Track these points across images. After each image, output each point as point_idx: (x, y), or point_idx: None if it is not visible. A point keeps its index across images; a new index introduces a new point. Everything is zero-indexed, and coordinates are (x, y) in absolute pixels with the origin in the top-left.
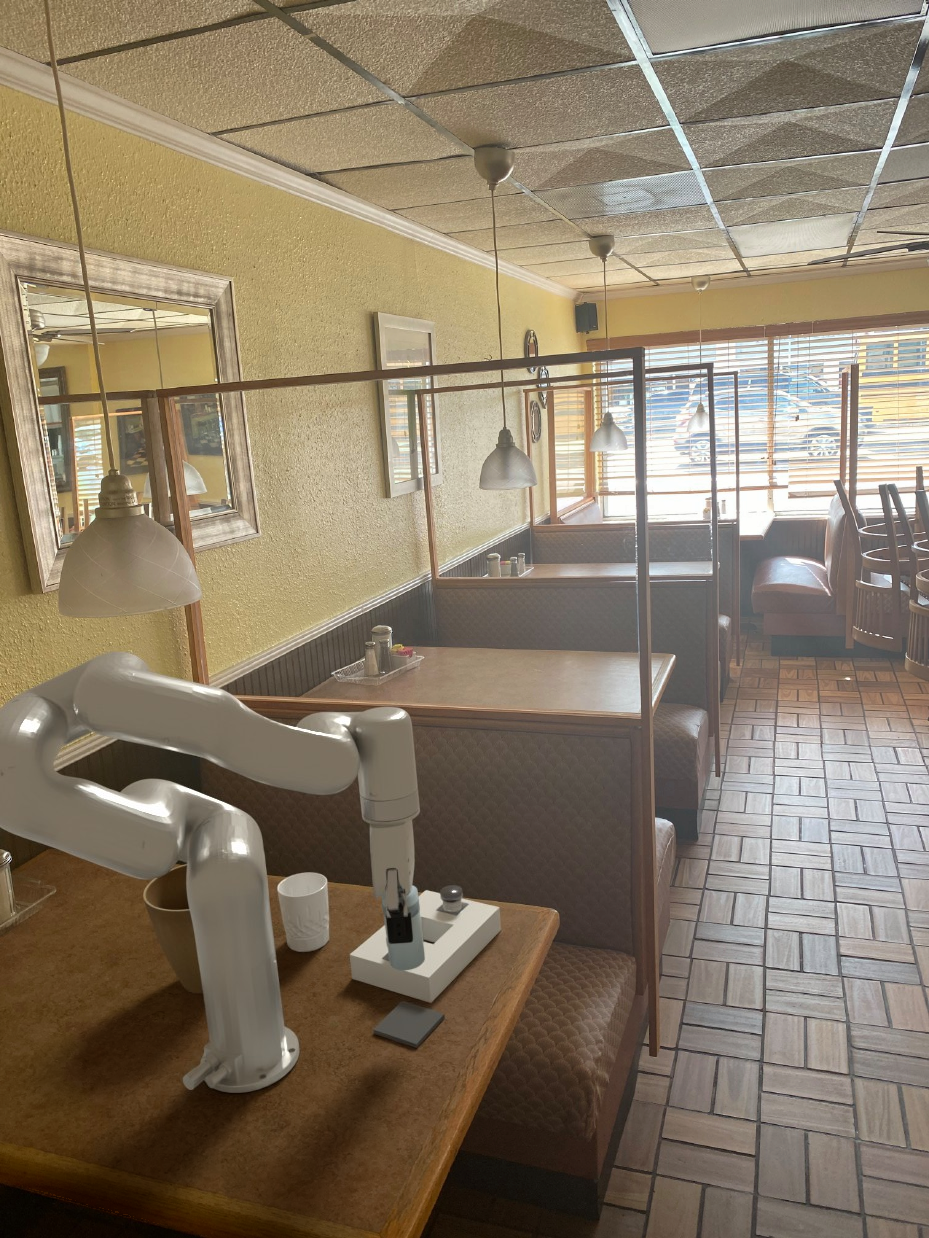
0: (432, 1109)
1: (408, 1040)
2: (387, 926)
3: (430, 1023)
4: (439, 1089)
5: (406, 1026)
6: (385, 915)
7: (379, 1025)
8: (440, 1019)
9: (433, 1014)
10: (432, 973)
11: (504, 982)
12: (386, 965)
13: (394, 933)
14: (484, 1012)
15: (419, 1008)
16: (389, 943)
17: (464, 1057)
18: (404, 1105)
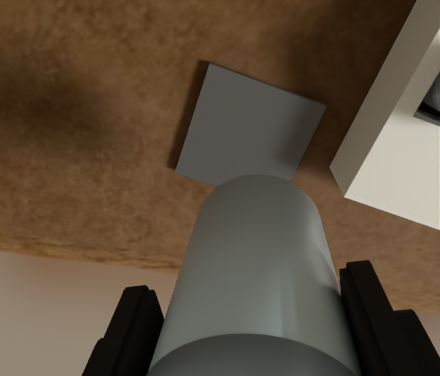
0: (32, 224)
1: (183, 153)
2: (96, 360)
3: None
4: (79, 226)
5: (228, 139)
6: (160, 369)
7: (225, 75)
8: None
9: None
10: (362, 201)
11: (393, 289)
12: (420, 60)
13: (90, 366)
14: None
15: (295, 153)
16: (196, 245)
17: (166, 252)
18: (24, 179)
